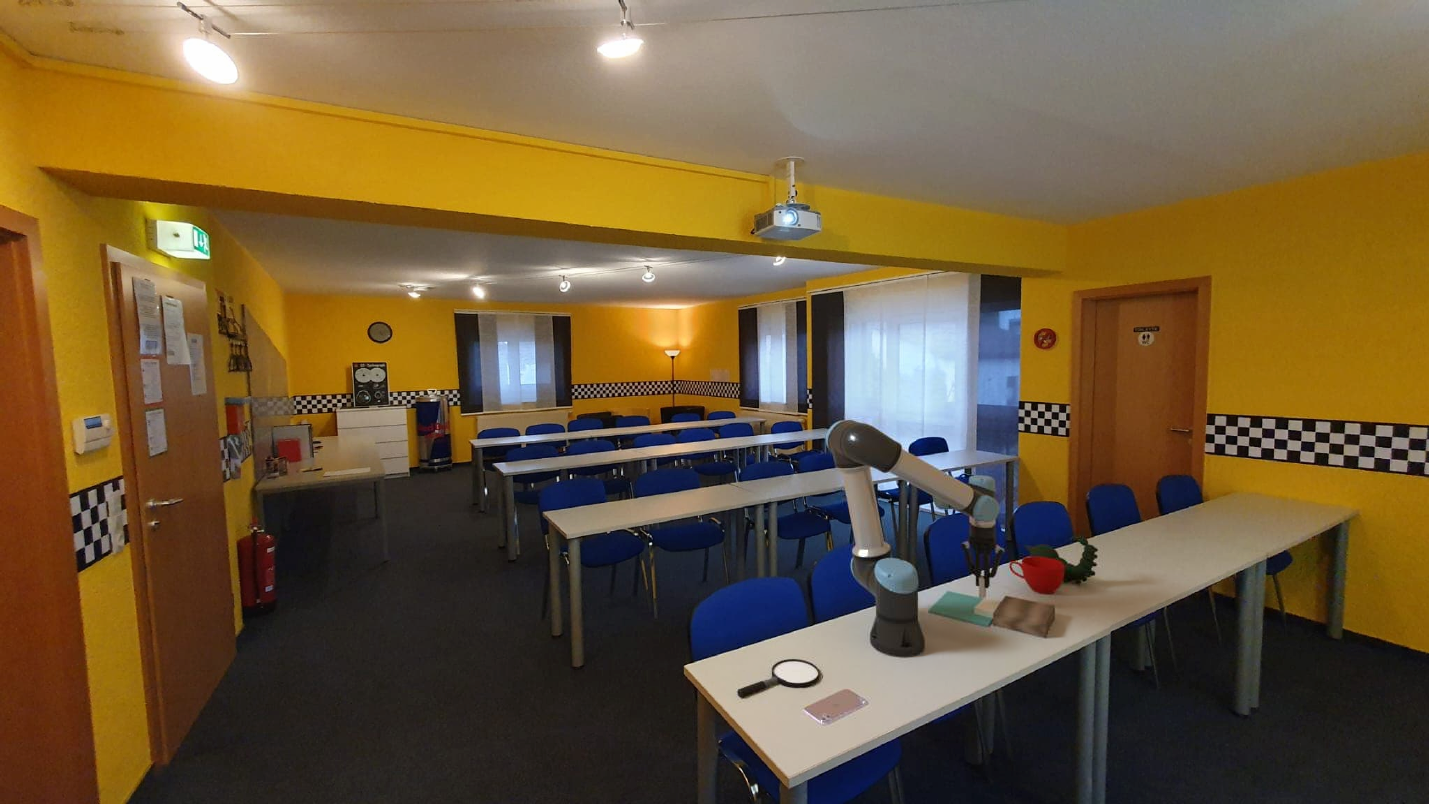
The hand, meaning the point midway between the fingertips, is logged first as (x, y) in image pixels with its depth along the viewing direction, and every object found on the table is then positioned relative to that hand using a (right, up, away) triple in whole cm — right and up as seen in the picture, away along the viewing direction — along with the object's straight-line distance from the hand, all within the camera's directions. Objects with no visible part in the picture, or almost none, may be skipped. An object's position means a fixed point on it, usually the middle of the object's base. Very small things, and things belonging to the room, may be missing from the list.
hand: (982, 596), depth 183 cm
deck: (+9, -5, -7) cm, 13 cm away
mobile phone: (-57, -11, -48) cm, 75 cm away
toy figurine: (+41, -3, +27) cm, 49 cm away
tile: (+2, -5, -1) cm, 5 cm away
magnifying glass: (-70, -10, -36) cm, 79 cm away
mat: (-4, -5, +3) cm, 7 cm away
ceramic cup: (+27, -4, +17) cm, 32 cm away
